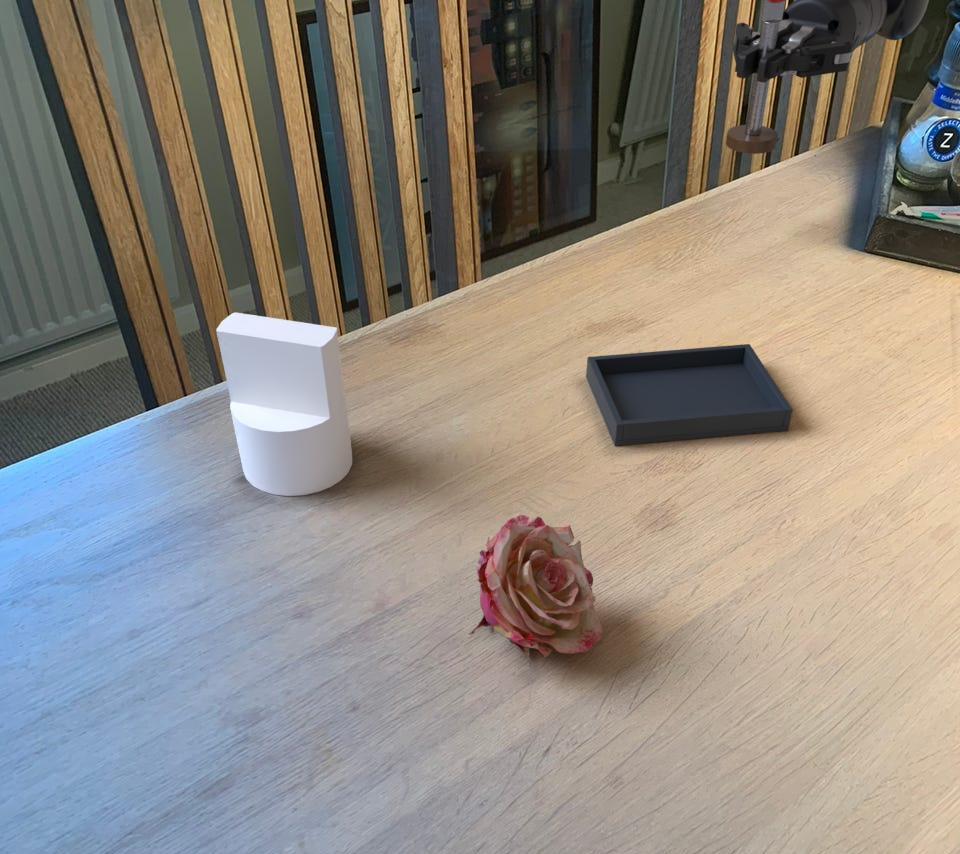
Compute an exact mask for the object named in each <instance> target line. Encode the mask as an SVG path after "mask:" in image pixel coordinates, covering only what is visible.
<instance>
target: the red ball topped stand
mask: <svg viewBox="0 0 960 854" xmlns="http://www.w3.org/2000/svg"><path fill="white" fill-rule="evenodd" d="M785 6H786V0H764V1H763V7H762V13H761V22H762V26H761V29H762V31H761V30H760V31H761V37H760V43H759V49H758V56H757V62H756V68H755V73H753V80H752V85H751V86H752V88H751V94H750V100H749V105H748V112H747V119H746V123H745V124H741V125H739V124H738V125H735V126H733V127H730V128H728V130H727V132H726V133H727V134H726V139H725V145H726V148H729V149H730V150H732V151H734V152H738V153H742V154H751V155H757V154H758V155H760V154H766V153H770V152H772V151H774V150H775V149H776V147H777V143H778V138H779V133H778V132H777V131H776V130H775V129H773V128H771V127H768V126H764V125H763V122H764V116H765V110H766V103H767V99H768V94H769V93H768V92H769V86H770V81H771V79H770V80H768V81H766V82H765V83H763V82H758V81H757V75H758V69H759V63H760V60H761V58H762V57H763V56H765V55H766V54H768V53H770V52H772V51H774V50H775V47H776V41H777V35H778V29H779V24H780V21H782V17H783V12H784V10H785Z"/></svg>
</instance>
